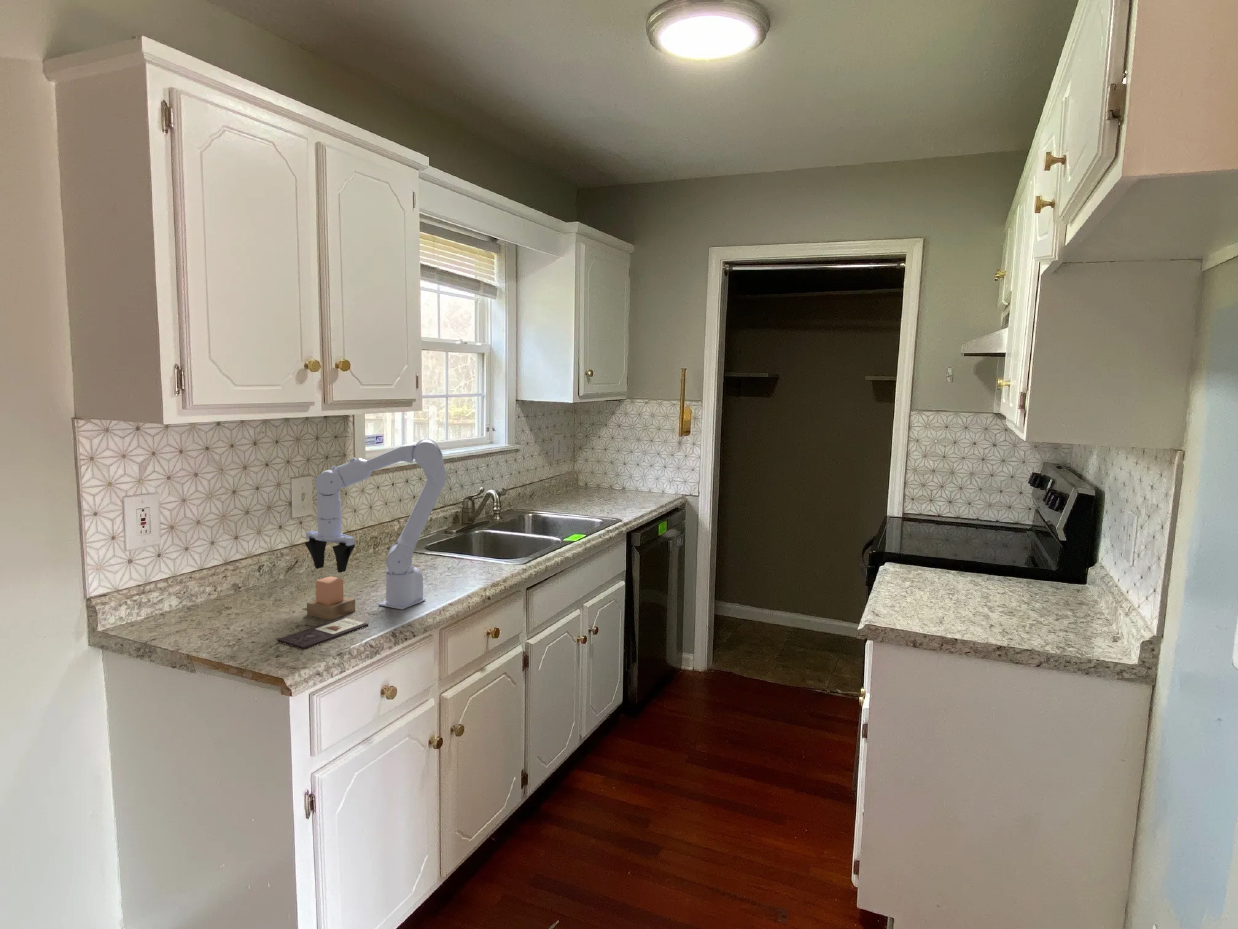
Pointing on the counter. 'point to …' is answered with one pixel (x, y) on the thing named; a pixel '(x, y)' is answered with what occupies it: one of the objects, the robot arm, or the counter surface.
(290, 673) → the counter surface
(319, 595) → the terracotta block
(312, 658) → the counter surface
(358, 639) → the counter surface
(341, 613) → the walnut base block
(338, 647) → the counter surface
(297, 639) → the chocolate bar
